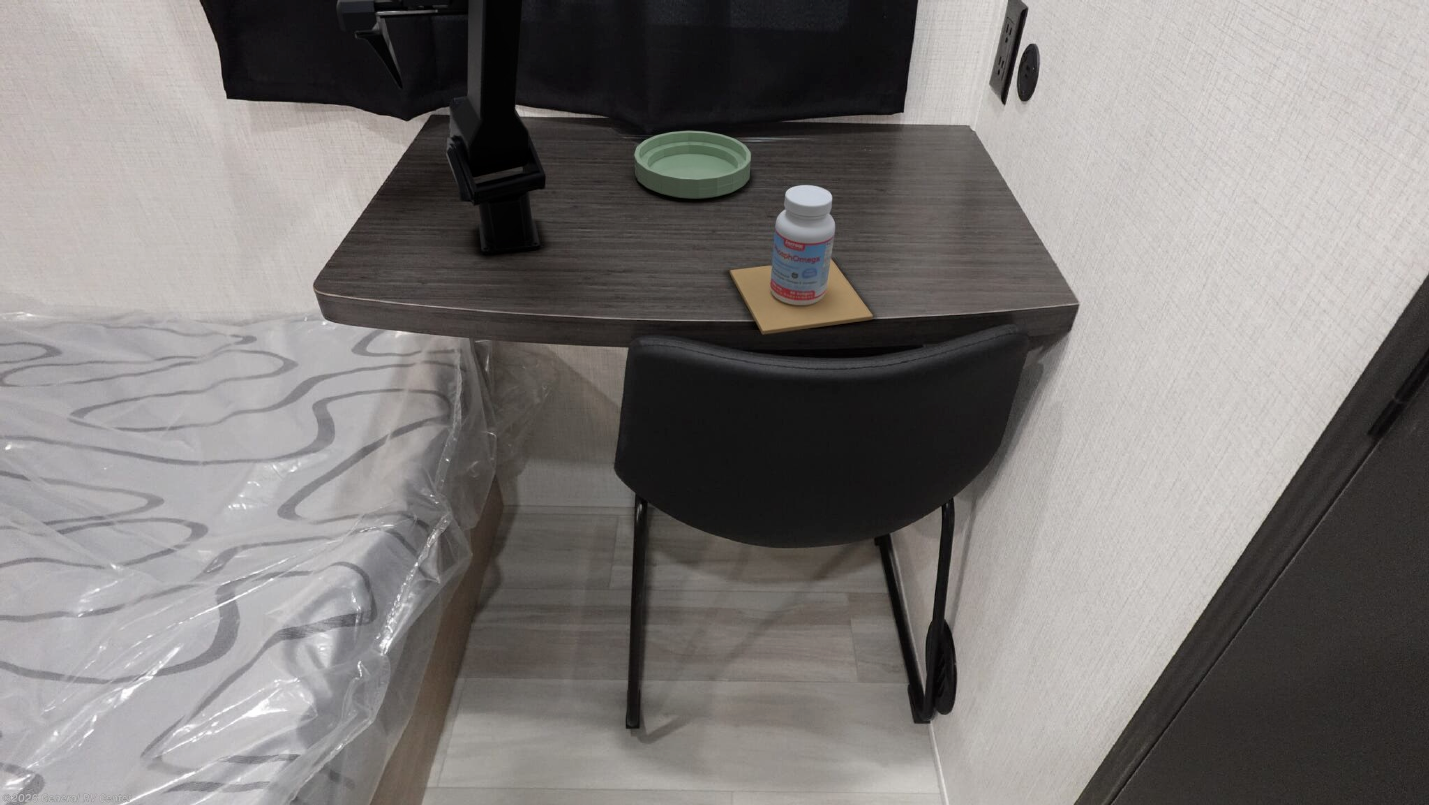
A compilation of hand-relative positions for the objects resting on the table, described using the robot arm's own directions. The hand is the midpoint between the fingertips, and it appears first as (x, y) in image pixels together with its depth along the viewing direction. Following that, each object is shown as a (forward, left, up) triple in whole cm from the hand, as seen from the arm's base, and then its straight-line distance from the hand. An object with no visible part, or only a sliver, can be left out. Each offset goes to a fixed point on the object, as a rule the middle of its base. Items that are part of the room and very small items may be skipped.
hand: (442, 85), depth 99 cm
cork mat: (-34, -34, -13) cm, 50 cm away
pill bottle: (-34, -34, -13) cm, 50 cm away
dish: (-3, -30, -13) cm, 33 cm away
